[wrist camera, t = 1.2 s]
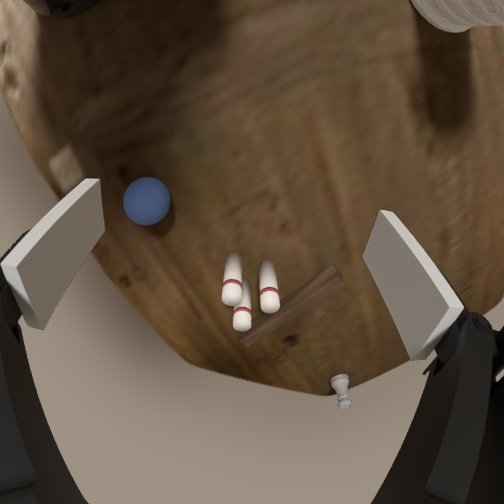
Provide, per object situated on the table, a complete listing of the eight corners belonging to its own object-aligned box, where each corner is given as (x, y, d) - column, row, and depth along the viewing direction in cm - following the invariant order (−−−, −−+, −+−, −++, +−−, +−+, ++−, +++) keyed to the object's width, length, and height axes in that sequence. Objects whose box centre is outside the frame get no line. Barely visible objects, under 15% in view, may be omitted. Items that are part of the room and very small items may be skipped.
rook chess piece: (345, 370, 60) (352, 400, 54) (350, 378, 62) (357, 406, 56) (326, 377, 62) (332, 407, 55) (332, 385, 64) (338, 413, 57)
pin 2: (254, 266, 44) (256, 306, 37) (267, 256, 43) (271, 296, 36) (266, 276, 45) (269, 316, 38) (278, 266, 44) (284, 306, 37)
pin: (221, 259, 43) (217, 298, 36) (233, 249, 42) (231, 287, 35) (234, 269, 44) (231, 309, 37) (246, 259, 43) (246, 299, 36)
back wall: (239, 328, 51) (239, 341, 49) (332, 263, 44) (337, 276, 41) (247, 333, 52) (247, 346, 50) (339, 271, 45) (344, 283, 42)
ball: (124, 193, 37) (107, 212, 32) (150, 161, 35) (134, 176, 30) (157, 220, 39) (144, 243, 34) (184, 191, 37) (174, 210, 32)
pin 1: (231, 284, 46) (228, 325, 39) (242, 276, 45) (242, 316, 38) (242, 293, 47) (242, 334, 40) (254, 285, 46) (255, 325, 39)
